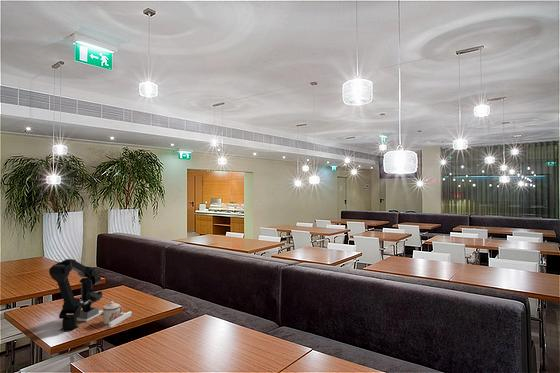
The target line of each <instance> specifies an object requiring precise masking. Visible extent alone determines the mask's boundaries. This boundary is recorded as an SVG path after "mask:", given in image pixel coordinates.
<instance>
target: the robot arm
mask: <svg viewBox="0 0 560 373" xmlns="http://www.w3.org/2000/svg"><path fill="white" fill-rule="evenodd" d="M72 270H73V271H75V272H77V275H78V276H79V277H81V279H80V280H79V281H78V283H80V284H81V287H80V289H81V290H79V293H80V295H81V296H80V297H75V295H74V292H73V290H72V287H71V284H70V281H69V275H70V272H71V271H72ZM48 274H49V275H50V277H51V279H53V281H55V282H56V283H57V286H58V288H59V291H60V294H61V297H62V300H63V303H62V305H61V311H60V312H59V314H58V318H59V319H61V320H62V327H61V328H60V329H59V331H65V332H71V331H73V330H75V329H77V328H79V327H80V326H79V325H78V323H77V322H78V320H77V317H79V316H80V312H81V310H83V311H84V312H89V310H90V307H92V304H94V303H96V302H98V301H100V300H101V299H102V298H103V291H102V290H100V291H95V288H93V286H95V285H97V284H99V283H100V282H101V281H102V277H101V276H100V274H99V273H98V272H96V270H95V268H94V267H92V266H86V265H84V264H82V263H80V262H79V261H76V259H74V258H73V259H72V258H66V259H63V261H59V262H57V263H55V264H52V266H50V268H49V270H48Z"/></svg>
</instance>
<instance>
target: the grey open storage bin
mask: <svg viewBox="0 0 560 373" xmlns="http://www.w3.org/2000/svg"><path fill="white" fill-rule="evenodd" d="M102 314H103V309H102V310H101V309H100V307H94V306H91V307H90V310H89V312H84V311H83V309H81V312H80V316H79V317H77V322H78V321H80V322H88V321H90V320H92V319H94V318H96V317H98V316H100V315H102ZM132 315H133V314H132V310H131V311H129V310H128V312H123V311H122V312H121V314H120V317H118V318H117V319H115V320H113V321H111V322H109V324H108V328H113V327H115V326H116V325H118V324H120V323H122V322H123V321H125V320H126V319H128V318H130V317H131V316H132Z"/></svg>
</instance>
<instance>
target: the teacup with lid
mask: <svg viewBox="0 0 560 373" xmlns="http://www.w3.org/2000/svg"><path fill="white" fill-rule="evenodd" d="M123 309H124V308H123V306H121V304H119V303H116V302H114V301H113V300H112V301H110V302H109V303H107V304H105V305H104V306H103V307H102V311H103V315H102V319H103V320H102V323H103V324H104V325H109V322H111V321H113V320H115V319H117V318H118V317H120V316H121V315H120V314H121V312H122V313H123Z"/></svg>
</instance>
